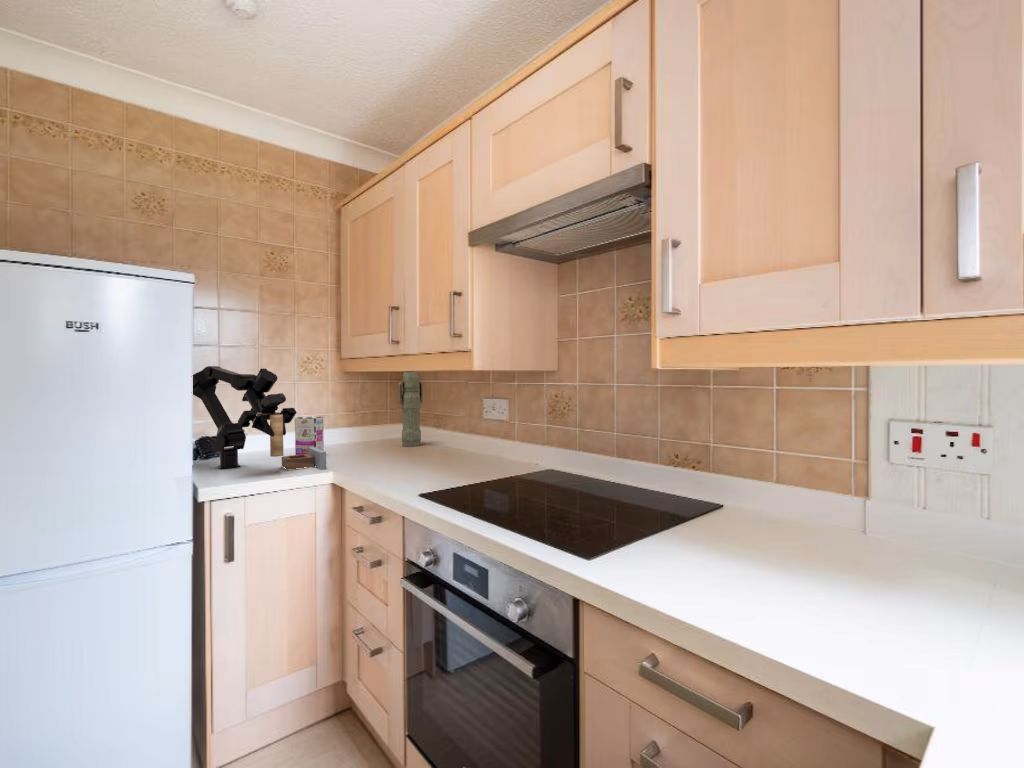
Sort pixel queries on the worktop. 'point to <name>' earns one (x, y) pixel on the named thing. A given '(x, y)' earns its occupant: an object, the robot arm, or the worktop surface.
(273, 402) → the robot arm
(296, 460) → the socket block
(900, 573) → the worktop surface
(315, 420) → the candy bar box
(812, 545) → the worktop surface
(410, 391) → the green stone statue
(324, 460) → the backstop wall
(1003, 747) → the worktop surface
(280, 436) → the dowel
